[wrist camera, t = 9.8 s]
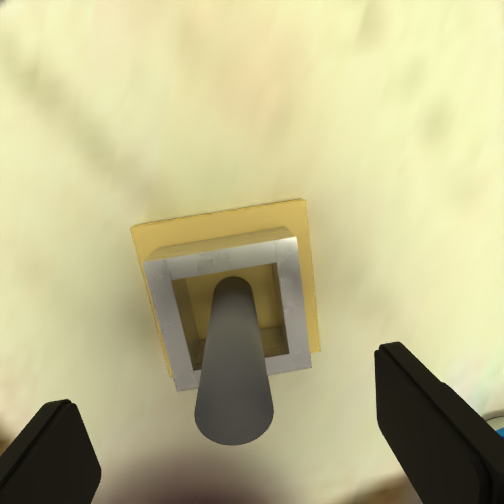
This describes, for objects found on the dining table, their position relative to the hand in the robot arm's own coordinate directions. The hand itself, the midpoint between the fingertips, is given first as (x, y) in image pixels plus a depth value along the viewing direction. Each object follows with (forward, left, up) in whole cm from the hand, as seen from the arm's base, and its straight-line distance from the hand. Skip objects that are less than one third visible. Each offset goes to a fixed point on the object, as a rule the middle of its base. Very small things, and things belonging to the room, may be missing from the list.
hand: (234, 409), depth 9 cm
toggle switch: (0, 0, -10) cm, 10 cm away
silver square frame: (0, 0, -9) cm, 9 cm away
